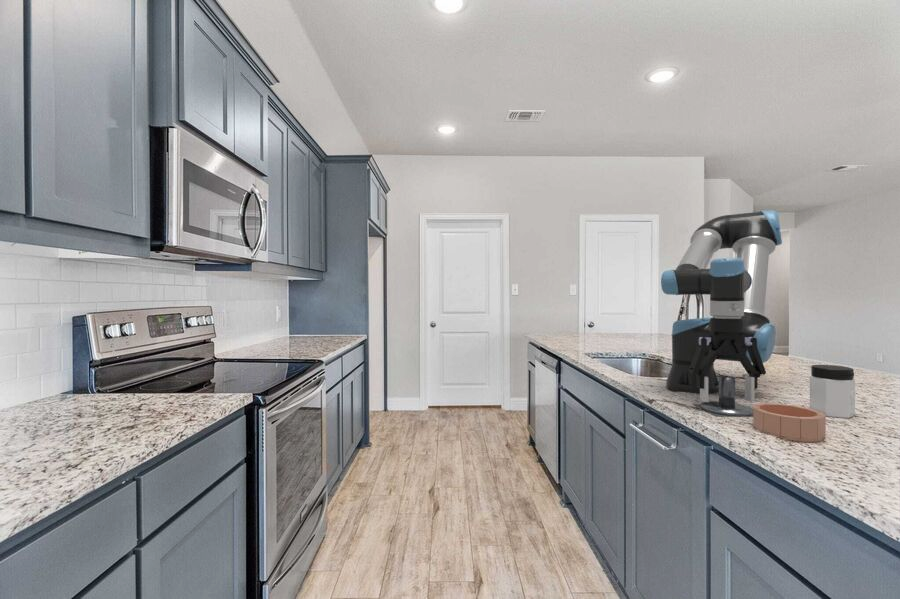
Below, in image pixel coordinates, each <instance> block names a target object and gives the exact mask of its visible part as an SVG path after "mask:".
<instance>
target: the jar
mask: <svg viewBox="0 0 900 599" xmlns="http://www.w3.org/2000/svg"><path fill="white" fill-rule="evenodd" d="M810 369H811V370H810V371H811V372H810V374H811V375H810V376H809V408H810V409H813V410H816V411H819V412H822V413H823V414H824V415H825V416H826V417H830V418H831V417H832V418H841V419H842V418H843V419H850V418H853V417H854V416H856V378H854V377H855V373H854V370H855V369H854V368H852V367H848V366H842V365H835V364H833V365H831V364H812V365H811V366H810Z"/></svg>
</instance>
